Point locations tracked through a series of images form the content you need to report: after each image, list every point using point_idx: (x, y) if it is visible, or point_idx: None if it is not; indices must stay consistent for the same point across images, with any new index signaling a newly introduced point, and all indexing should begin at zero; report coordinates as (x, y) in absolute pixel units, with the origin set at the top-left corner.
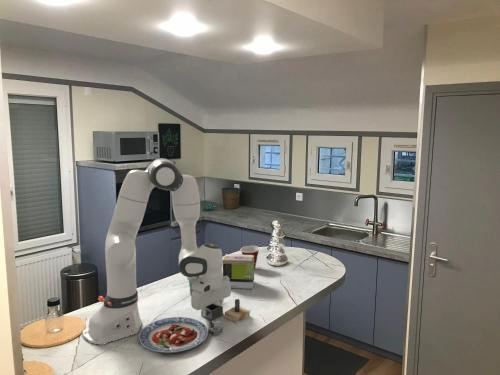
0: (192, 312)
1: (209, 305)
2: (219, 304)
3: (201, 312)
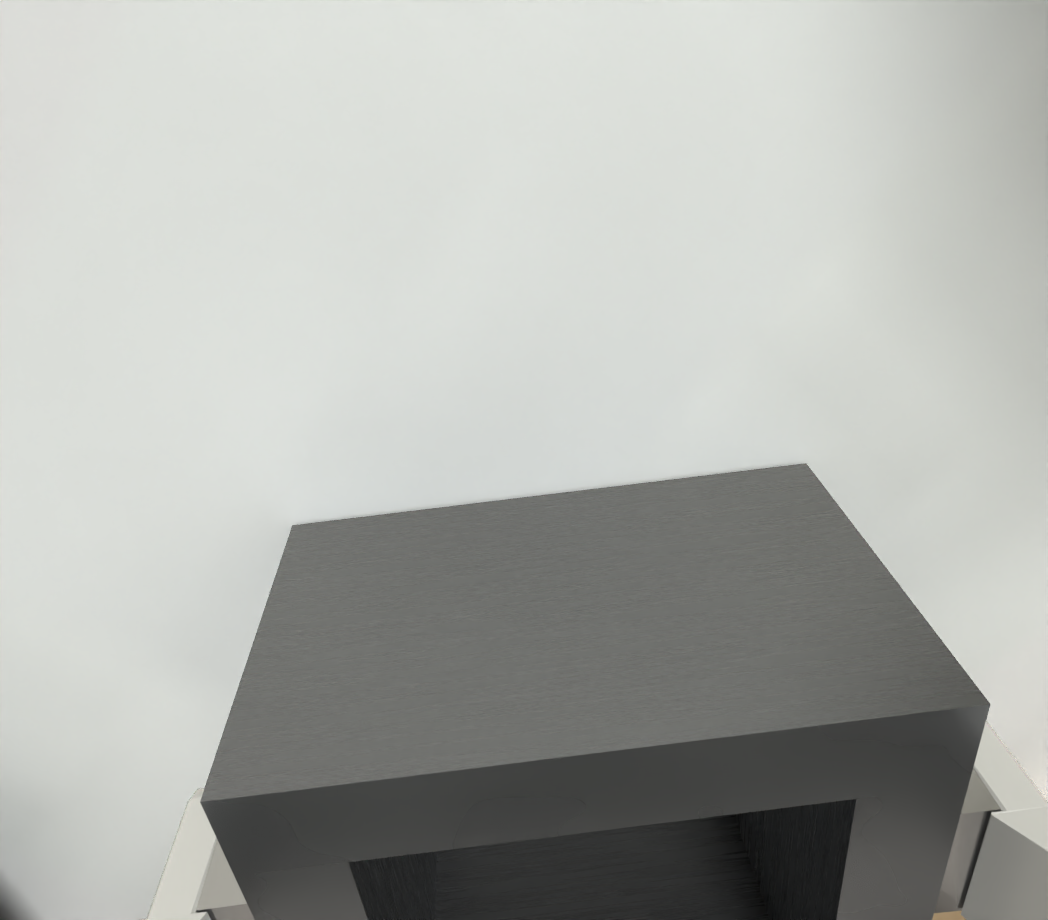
0: (119, 66)
1: (663, 794)
2: (998, 902)
3: (267, 623)
